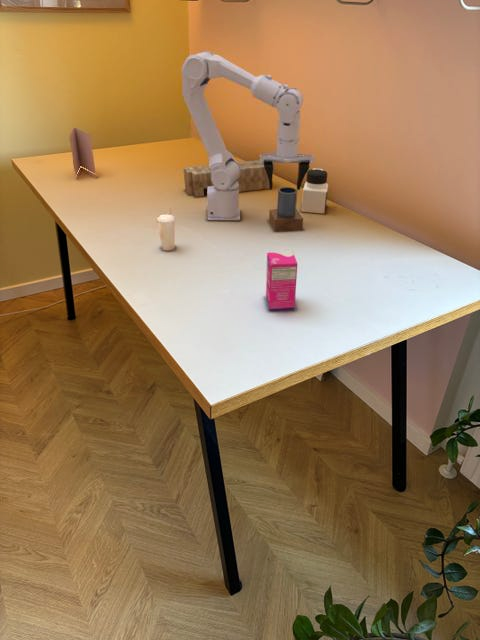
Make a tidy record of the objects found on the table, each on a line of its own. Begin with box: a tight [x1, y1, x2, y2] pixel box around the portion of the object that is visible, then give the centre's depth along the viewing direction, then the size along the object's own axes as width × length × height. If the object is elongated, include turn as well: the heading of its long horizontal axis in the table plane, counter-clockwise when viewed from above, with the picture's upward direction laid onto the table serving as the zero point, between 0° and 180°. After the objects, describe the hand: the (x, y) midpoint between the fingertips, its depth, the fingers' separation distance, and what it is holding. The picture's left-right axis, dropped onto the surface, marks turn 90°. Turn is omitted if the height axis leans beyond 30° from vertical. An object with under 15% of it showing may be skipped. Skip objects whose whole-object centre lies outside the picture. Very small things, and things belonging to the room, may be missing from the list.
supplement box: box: [265, 250, 298, 312], centre depth 111 cm, size 6×6×12 cm
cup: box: [276, 186, 298, 218], centre depth 146 cm, size 5×5×7 cm
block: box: [268, 208, 304, 233], centre depth 149 cm, size 8×8×4 cm
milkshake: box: [156, 207, 176, 252], centre depth 134 cm, size 5×5×10 cm
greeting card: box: [68, 127, 97, 181], centre depth 181 cm, size 11×7×15 cm, turn 6°
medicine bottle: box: [300, 168, 329, 215], centre depth 157 cm, size 7×7×12 cm
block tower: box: [183, 159, 275, 198], centre depth 172 cm, size 8×8×29 cm
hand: (284, 188), depth 145 cm, fingers open, 7 cm apart
